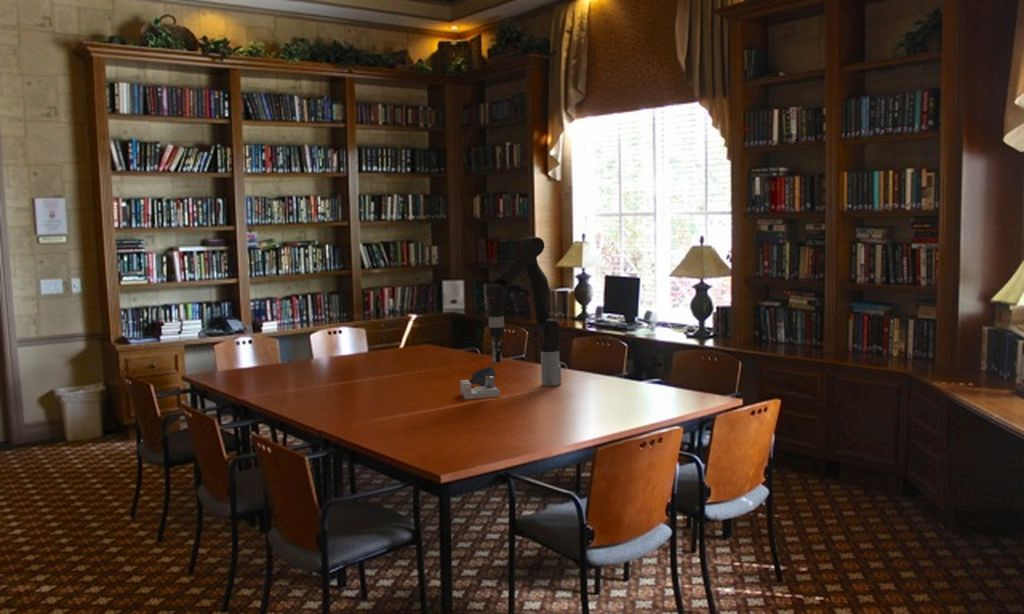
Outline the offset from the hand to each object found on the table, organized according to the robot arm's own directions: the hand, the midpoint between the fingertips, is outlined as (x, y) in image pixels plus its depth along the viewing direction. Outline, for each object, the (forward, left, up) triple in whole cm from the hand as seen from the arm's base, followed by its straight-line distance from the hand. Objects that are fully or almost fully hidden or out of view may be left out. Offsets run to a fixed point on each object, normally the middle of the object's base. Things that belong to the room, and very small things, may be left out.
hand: (497, 361), depth 435 cm
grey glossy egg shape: (+4, -2, -13) cm, 13 cm away
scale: (+9, +1, -16) cm, 18 cm away
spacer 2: (0, 0, -1) cm, 1 cm away
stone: (+4, -23, -16) cm, 28 cm away
